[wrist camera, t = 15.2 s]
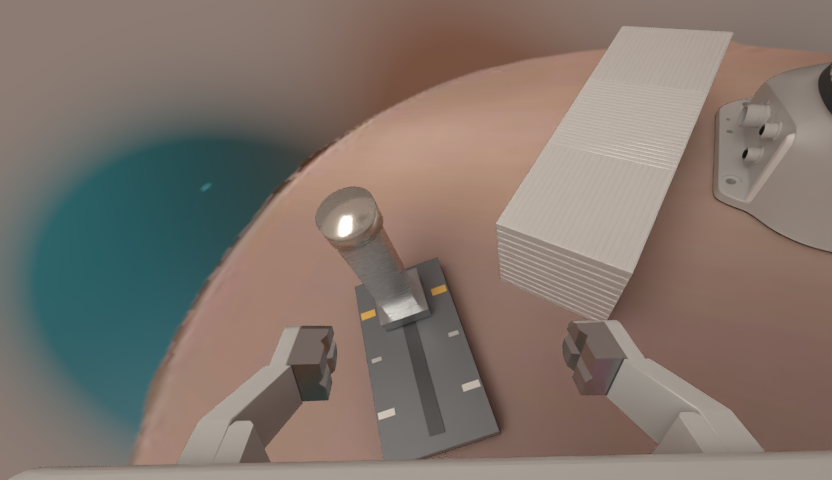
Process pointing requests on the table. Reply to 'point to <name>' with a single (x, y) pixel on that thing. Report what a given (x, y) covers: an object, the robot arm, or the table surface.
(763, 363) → the table surface
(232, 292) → the table surface
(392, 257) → the lever
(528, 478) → the robot arm
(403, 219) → the table surface
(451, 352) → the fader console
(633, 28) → the stack of papers
